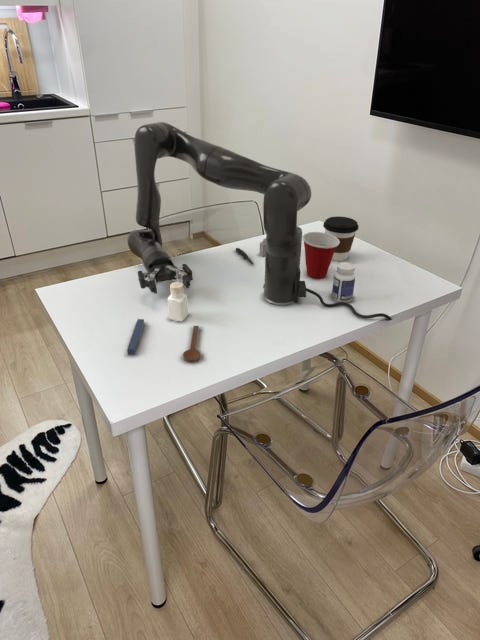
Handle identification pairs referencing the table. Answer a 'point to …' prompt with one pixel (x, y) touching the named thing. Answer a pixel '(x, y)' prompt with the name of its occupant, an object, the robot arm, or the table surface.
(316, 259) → the plastic cup
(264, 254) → the lighter
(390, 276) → the table surface
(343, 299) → the pill bottle
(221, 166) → the robot arm
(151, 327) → the table surface
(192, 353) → the wooden spoon
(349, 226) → the coffee cup
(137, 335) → the blue stick
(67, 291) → the table surface
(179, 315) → the salt shaker
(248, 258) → the folding knife
